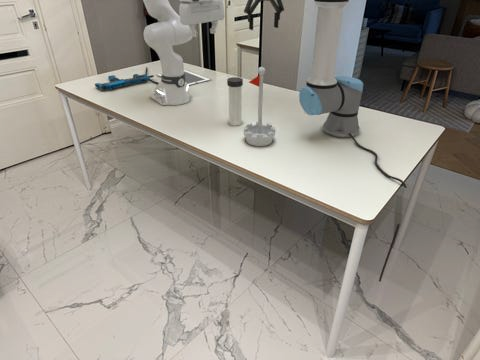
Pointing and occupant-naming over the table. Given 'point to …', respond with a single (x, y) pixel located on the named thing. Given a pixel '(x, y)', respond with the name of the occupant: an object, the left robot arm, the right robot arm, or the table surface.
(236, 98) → the jar
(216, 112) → the table surface
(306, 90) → the right robot arm
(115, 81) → the submachine gun
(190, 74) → the tablet
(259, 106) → the flag stand
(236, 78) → the lid
